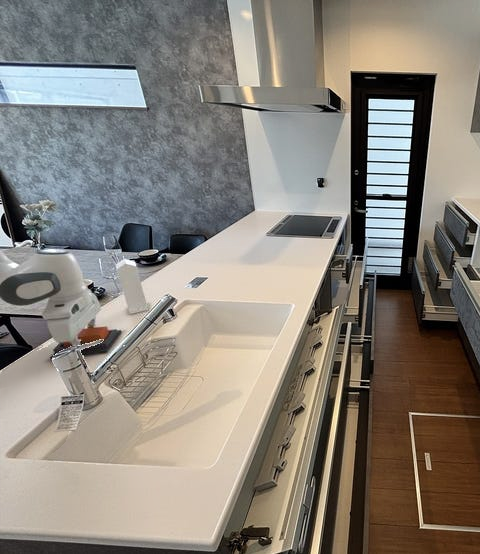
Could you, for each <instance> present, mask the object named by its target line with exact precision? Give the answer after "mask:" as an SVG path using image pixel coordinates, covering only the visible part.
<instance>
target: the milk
mask: <svg viewBox="0 0 480 554" xmlns="http://www.w3.org/2000/svg"><path fill="white" fill-rule="evenodd" d="M122 257H123V259H122V260H120V261H118V262H117V263H116V264H115V268H116V274H117V277H118V280H119V283H120V286H121V289H122V293H123V296H124V299H125V303H126V306H127V309H128V312H129V315H133V314H137V313H141V312H146V311H149V306H148V304H147V300H146V299H147V298H146V295H145V292H144V289H143V286H142V281H141V278H140V273H139V271H138V267H137V264H136V261H134V260H130V259H127V258H125V256H124V255H122ZM144 308H145V309H144ZM140 309H141V310H140Z"/></svg>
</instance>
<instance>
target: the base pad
mask: <svg viewBox="0 0 480 554" xmlns="http://www.w3.org/2000/svg"><path fill="white" fill-rule="evenodd" d="M108 331H109V336H108V337H107V338H106V339H105V341H104V342H102V343H100V344H97V345H95V346H91V347H89V348H85V349H83V350H81V353H82V355H83V356H82V357H86V356H92V355H93V356H94V355H100V354H107V353H108V352H109V350H110V349H111V348H112V346H113V345H114V344H115V342H116V341H117V339H118V338H119V337H120V335H121V334H122V330H121V329H117V328H115V329H108ZM68 347H70V346H66V347H64V345H63V343H58V344H56V346H55V347H54V348H53V349H52V352H53V353H52V354H51V355H50V356H49V358H50V361H53V360H52V357H53V355H55V354H56V353H58V352H59V351H61V350H63V349H66V348H68Z"/></svg>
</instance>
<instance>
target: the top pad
mask: <svg viewBox="0 0 480 554" xmlns="http://www.w3.org/2000/svg"><path fill="white" fill-rule="evenodd" d="M108 330H109V329H108V326H107V325H106V326H96V327H95V328H87V327H85V328H84V329H83V330H82V331H81V332H80V333H79V334H78V335H77V336H78V338H77V339H78V340H82V343H83V344H85V343H90V342H93V341H96V340H99V339H104V341H105V339H106V338H107V337H108V336H109V331H108ZM104 341H103V342H104ZM62 343H63V345H64V347H66V346H73V345H72V343H70V342H62Z"/></svg>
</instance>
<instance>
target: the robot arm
mask: <svg viewBox="0 0 480 554" xmlns="http://www.w3.org/2000/svg"><path fill="white" fill-rule="evenodd" d="M47 299H48V300H47ZM0 300H2V301H3V302H5V303H7V304H9V305H13V306H19V307H21V306H22V307H24V306H30V305H34V304H37V303H39V302H42V301H44V300H47V303H46V306H45V307H44V310H43V311H42V313H41V317H42V318H43V320H47V321H46V325H47V328H48V330H49V333H50V335H51V337H52V339H53V340H54V342H56V343H58V344H59V343H62V342H70V343H72V345H82V344H83V343H82V340H78V339H77V338H78V336H77V335H78V334H79V333H80V332H81V331H82V330H83V329H86V328H95V327H97V323H96V322H97V317H96V316H97V315H98V314H99V313H100V312H101V310H102V309H101V307H102V306H101V304H100V302H99V299H98V297H97V295H96V294H95V293H93V292H92V290H91V289H89V288H88V286H87V284H86V283H85V282H84V273H83V271H82V268H81V266H80V264H79V262H78V260H77V258H76V256H75V255H74V254H73V253H72V252H70V251H68V250H65V249H60V248H45V249H40V250H37V251H35V252H33V255H31V257H29V258H28V259H27V260H25V261H23V262H22V263H19V262H17V261H14V260H12V259H11V258H10V257H8V256H6V254H5V253H4V252H3V251H2V250H1V249H0Z"/></svg>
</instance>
